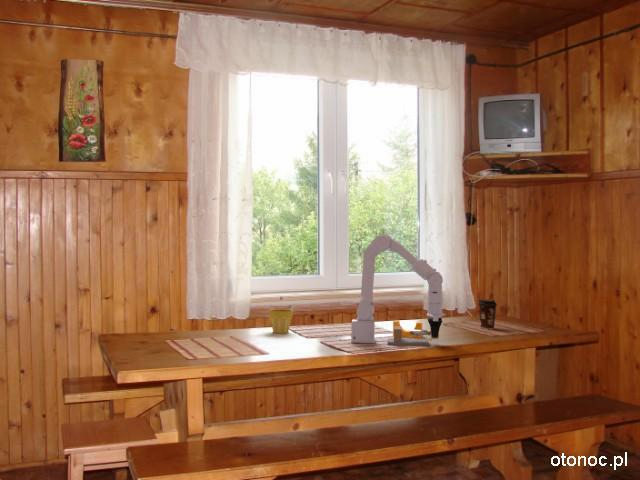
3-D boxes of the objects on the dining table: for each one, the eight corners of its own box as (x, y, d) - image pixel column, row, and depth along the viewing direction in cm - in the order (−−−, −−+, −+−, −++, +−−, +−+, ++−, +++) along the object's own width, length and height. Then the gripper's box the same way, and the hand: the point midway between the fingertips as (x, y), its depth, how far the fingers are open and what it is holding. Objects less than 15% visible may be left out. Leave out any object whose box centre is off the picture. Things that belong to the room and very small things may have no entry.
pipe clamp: (423, 336, 289) (423, 321, 289) (420, 338, 285) (420, 323, 285) (395, 335, 294) (396, 320, 293) (393, 336, 290) (393, 321, 289)
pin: (410, 338, 270) (410, 327, 270) (410, 337, 273) (410, 326, 273) (438, 339, 269) (438, 328, 268) (438, 337, 272) (438, 326, 271)
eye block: (387, 344, 269) (387, 329, 269) (388, 341, 277) (388, 326, 276) (428, 345, 267) (428, 330, 267) (427, 342, 275) (428, 327, 274)
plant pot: (294, 330, 303) (294, 308, 303) (291, 334, 293) (291, 311, 292) (271, 330, 304) (271, 308, 304) (267, 333, 294) (267, 311, 294)
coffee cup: (473, 327, 315) (473, 299, 315) (488, 326, 318) (488, 298, 318) (485, 330, 307) (485, 301, 307) (500, 329, 311) (500, 300, 310)
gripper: (446, 305, 262) (446, 340, 263) (444, 300, 277) (444, 334, 277) (427, 304, 263) (427, 339, 263) (426, 300, 278) (426, 333, 278)
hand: (434, 336), depth 270 cm, fingers closed on pin, 3 cm apart
